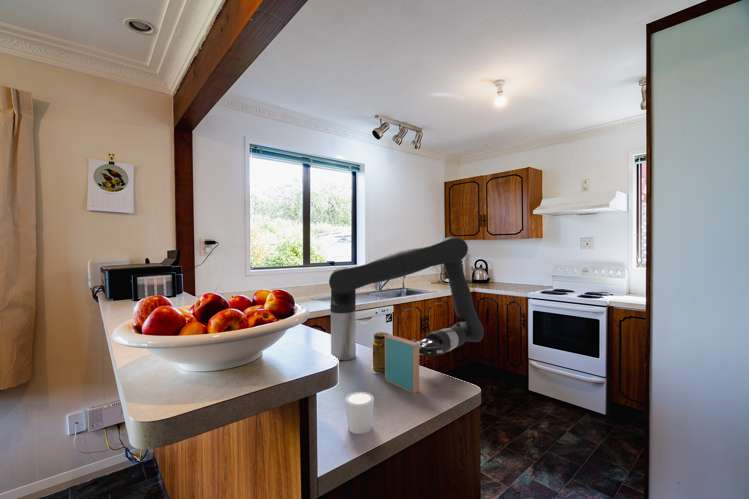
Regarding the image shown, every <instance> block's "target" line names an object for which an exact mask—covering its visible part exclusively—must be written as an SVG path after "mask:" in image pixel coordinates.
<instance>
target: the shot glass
mask: <svg viewBox="0 0 749 499" xmlns="http://www.w3.org/2000/svg"><path fill="white" fill-rule="evenodd" d="M344 401H345V409H346V410H345V412H346V420H347V421H346V422H347V429H348V430H349V432H350V433H353V434H356V435H360V434H361V435H362V434H366V433H369V432H370V431H371V430H372V428H373V419H374V418H373V416H374V407H375V406H374V404H375V398H374V395H372V394H371V393H369V392H365V391H355V392H351V393H348V394H347V395H346V396H345V398H344Z"/></svg>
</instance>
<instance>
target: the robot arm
mask: <svg viewBox="0 0 749 499" xmlns="http://www.w3.org/2000/svg"><path fill="white" fill-rule="evenodd" d="M468 251H469V247H468V244H467V242H466V241H465V240H464V239H462V238H461V237H458V236H447V237H445V238H443V239H442V240H441V241H440V242H437V243H435V244H432V245H428V246H424V247H417V248H409V249H404V250H399V251H396V252H393V253H389V254H386V255H383V256H381V257H378V258H376V259H374V260H371V261H370V262H368V263H365V264H362V265H357V266H352V267H346V266H340V267H337V268H336V269H335V270H334V271H333V272H332V273H331V274H330V277H329V281H328V282H329V283H328V284H329V287H330V304H329V305H330V355H331V354H332V355H333V356H335V357H336V358H338V359H340V360H344V361H350V360H353V359H354V358H356V357H357V354H356V353H357V346H356V345H357V344H356V343H357V341H356V340H357V335H356V331H357V330H356V325H357V323H356V319H357V318H356V307H357V306H356V304H357V302H356V301H357V298H356V297H357V296H356V292H357V291H356V290H358V289H360V288H362V287H365V286H368V285H372V284H377V283H382V282H386V281H390V280H395V279H398V278H402V277H405V276H406V277H407V276H409V275H411V274H415V273H418V272H421V271H423V270H426V269H428V268H431V267H435V266H440V265H443V266H444V268H445V272H446V275H447V279H448V283H449V288H450V293H451V297H452V298H451V299H452V303H453V307H454V308H453V310H454V312H455V315H456V317H458V318H461V319H463V320H465V321H459V322H456V323H455V324H453V326H451V327H450V326H449V327H447V328H442V329H439V330H435V331H432V332H429V333H428V334H427V335H426V337H425V338H423V339H420V340H419V341H418V340H416V339H415V338H411V340H410V341H413V342H416V343H419V356H422V355H423V356H424V357H433V356H435V357H439V356H441V357H442V356H443V354H446V353H447V352H451V351H452V350H454V349H455V348H457V347H461V346H462V345H464V343H466V342H473V343H479V342H481V341H482V340H483V338H484V334H485V332H484V327H483V324H482V322H481V321H480V319H479V316H478V313H477V312H476V310H475V306H474V302H473V297H472V292H471V289H470V286H469V284H468V282H467V278H466V277H465V273H464V268H463V262H462V261H463V259H464V258H466V255H467V254H468ZM340 360H339V361H340Z"/></svg>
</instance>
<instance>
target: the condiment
mask: <svg viewBox="0 0 749 499" xmlns="http://www.w3.org/2000/svg"><path fill="white" fill-rule="evenodd" d="M386 335H390V334H389V332H376V333H374V335H373V341H372V364H371V365H370V366H371V371H372V374H373V375H375V374H376V375H377V374H378V375H379V374H385V336H386Z"/></svg>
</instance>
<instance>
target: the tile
mask: <svg viewBox="0 0 749 499" xmlns="http://www.w3.org/2000/svg"><path fill="white" fill-rule="evenodd" d="M384 381H385V382H387V383H390V384H392V385H394V386H396V387H398V388H401V389H403V390H406V391H408V392H410V393H412V394H416V393H418V392H419V391H420V355H419V343H416V342H413V341H411V340H409V339H406V338H403V337H400V336H396V335H392V334H389V335H386V336H385V373H384Z"/></svg>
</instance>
